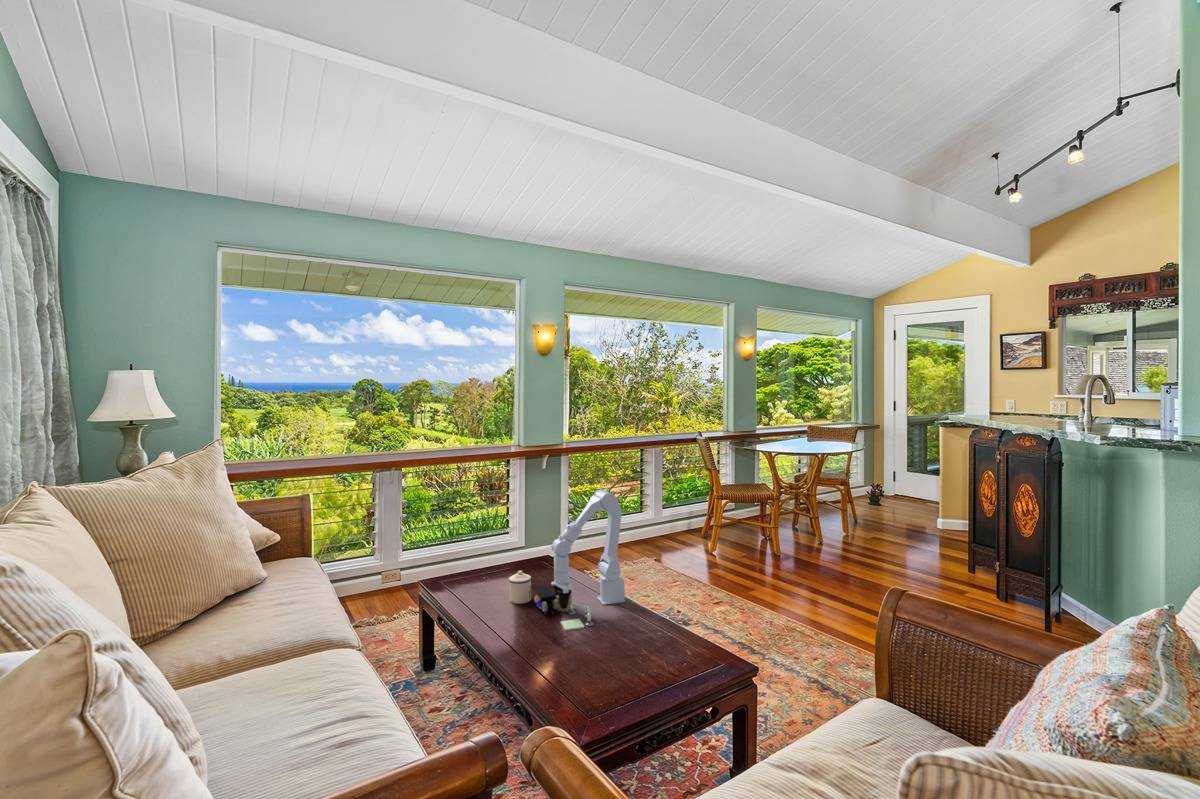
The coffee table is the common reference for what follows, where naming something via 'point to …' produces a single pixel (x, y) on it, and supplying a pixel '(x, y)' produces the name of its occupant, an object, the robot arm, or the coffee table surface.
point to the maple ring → (567, 605)
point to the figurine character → (545, 598)
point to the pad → (572, 624)
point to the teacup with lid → (520, 588)
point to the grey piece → (587, 615)
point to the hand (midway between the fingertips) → (562, 605)
